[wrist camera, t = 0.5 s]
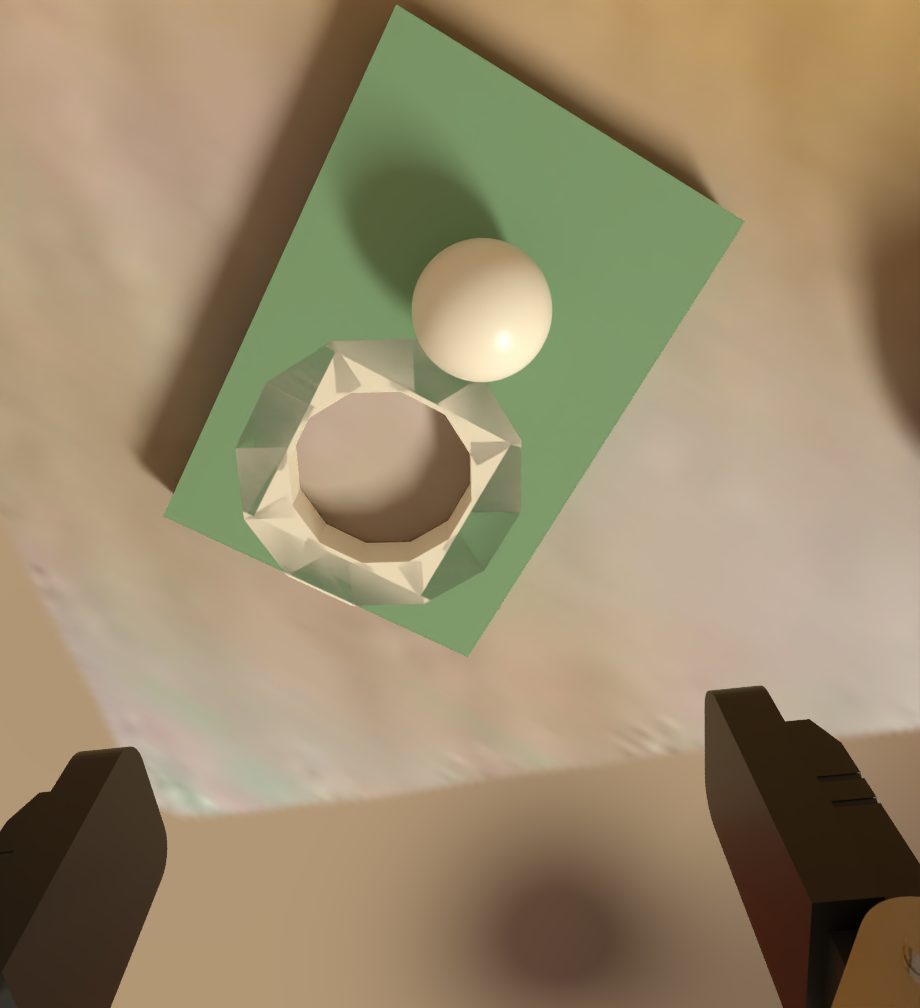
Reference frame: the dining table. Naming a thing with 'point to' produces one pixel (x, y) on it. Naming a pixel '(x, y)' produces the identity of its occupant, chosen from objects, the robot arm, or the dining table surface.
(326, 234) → the green flat block
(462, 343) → the ball
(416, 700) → the dining table surface
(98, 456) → the dining table surface
